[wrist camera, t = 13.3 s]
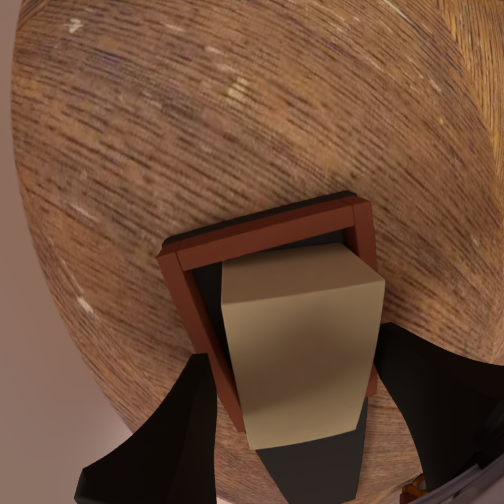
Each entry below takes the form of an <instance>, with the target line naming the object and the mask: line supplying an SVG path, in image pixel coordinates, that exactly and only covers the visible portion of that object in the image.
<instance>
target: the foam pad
mask: <svg viewBox="0 0 504 504" xmlns="http://www.w3.org/2000/svg"><path fill="white" fill-rule="evenodd" d="M384 291H385V279H384V278H382V277H381V276H380V275H379V274H378V273H377V272H375V271H374V270H373V269H372V268H371V267H370V266H368V265H367V264H366V263H365V262H364V261H362V260H361V259H360V258H359V257H358V256H356V255H355V254H354V253H353V252H352V251H350V250H349V249H348V248H347V247H345V246H344V245H343V244H342V243H340V242H338V243H330V244H322V245H313V246H305V247H297V248H288V249H280V250H272V251H263V252H255V253H250V254H247V255H243V256H239V257H235V258H232V259H228V260H224V261H223V269H222V293H221V308H222V314H223V320H224V325H225V331H226V336H227V342H228V347H229V352H230V357H231V363H232V368H233V373H234V378H235V383H236V387H237V392H238V397H239V402H240V406H241V411H242V416H243V420H244V425H245V429H246V434H247V438H248V442H249V447H250V449H251V450H255V449H264V448H272V447H278V446H285V445H291V444H296V443H302V442H307V441H312V440H316V439H321V438H325V437H329V436H333V435H337V434H341V433H345V432H348V431H352V430H355V429H356V426H357V423H358V419H359V416H360V413H361V409H362V405H363V402H364V398H365V394H366V390H367V386H368V382H369V378H370V373H371V369H372V364H373V359H374V354H375V349H376V344H377V339H378V333H379V327H380V320H381V314H382V307H383V299H384Z"/></svg>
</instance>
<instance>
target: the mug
mask: <svg viewBox="0 0 504 504" xmlns="http://www.w3.org/2000/svg"><path fill="white" fill-rule="evenodd" d="M426 494H428V493H427V490H426V483H425V479H424V474H422V475H421V476H419V477H418V478H417V479H416V480H415V481H414V482H413V483H412V484H408V485H405V486H404V487H403V488H402V494H400V504H408V503H410V502H412V501H414V500H416V499H418V498H420V497H422V496H424V495H426ZM452 498H453V497H451V498H449V499H448V500H446V501H444V502H443V503H441V504H446V503H448V502H449V501H451V500H452Z"/></svg>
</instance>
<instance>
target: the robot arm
mask: <svg viewBox="0 0 504 504" xmlns="http://www.w3.org/2000/svg"><path fill="white" fill-rule="evenodd" d="M373 363H374V365H375V368H376V370H377V372H378V374H379V377H380V379H381V381H382V382H383V384H384V386H385V387H386V389H387V390H388V392H389V394H390V395H391V397H392V399H393V400H394V402H395V404H396V405H397V407H398V408H399V410H400V412H401V413H402V415H403V417H404V419H405V421H406V423H407V426H408V428H409V430H410V433H411V435H412V438H413V441H414V443H415V446H416V449H417V452H418V455H419V459H420V462H421V466H422V469H423V474H424V479H425V483H426V490H427V493H428V494H426V495H424V496H422V497H420V498H418V499H416V500H414V501H412V502H410V503H408V504H441V503H443V502H444V501H446V500H448V499H449V498H451V497H453V498H452V500H451V501H449V502H448V503H446V504H504V366H501V365H494V364H488V363H484V362H480V361H476V360H472V359H469V358H466V357H463V356H460V355H457V354H455V353H452V352H450V351H447V350H445V349H443V348H441V347H439V346H436V345H434V344H432V343H430V342H428V341H426V340H425V339H423V338H421V337H419V336H417V335H415V334H413V333H411V332H410V331H408V330H406V329H404V328H402V327H400V326H398V325H396V324H394V323H392V322H389V323H385V324H381V325H380V327H379V333H378V339H377V344H376V349H375V354H374V359H373ZM216 420H217V388H216V384H215V380H214V376H213V372H212V369H211V365H210V361H209V357H208V353H198V354H192V355H191V356H190V358H189V360H188V362H187V364H186V366H185V367H184V369H183V371H182V373H181V374H180V376H179V378H178V379H177V381H176V382H175V384H174V386H173V387H172V389H171V390H170V392H169V393H168V395H167V396H166V397H165V399H164V400H163V401H162V403H161V404H160V406H159V407H158V408H157V409H156V411H155V412H154V413H153V414H152V415H151V416H150V418H149V419H148V420H147V421H146V422H145V423H144V424H143V425H142V426H141V427H140V428H139V429H138V430H137V431H136V432H135V433H134V434H133V435H132V436H131V437H130V438H128V439H127V440H126V441H125V442H124V443H122V444H121V445H120V446H118V447H117V448H116V449H115V450H113V451H112V452H110V453H109V454H107V455H106V456H104V457H103V458H101V459H100V460H98V461H96V462H94V463H93V464H91V465H89V466H87V467H85V468H83V470H82V472H81V475H80V478H79V481H78V485H77V488H76V492H75V496H74V499H75V501H76V502H77V504H217V500H216V488H215V474H214V446H215V433H216Z"/></svg>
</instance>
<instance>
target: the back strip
mask: <svg viewBox="0 0 504 504" xmlns="http://www.w3.org/2000/svg"><path fill="white" fill-rule="evenodd" d="M338 242H340V243H342V244H343V245H344V246H345V247H347V248H348V249H349V250H350V251H352V252H353V253H354V254H355V255H356V256H358V257H359V258H360V259H361V260H362V261H364V262H365V263H366V264H367V265H368V266H370V267H371V268H372V269H373V270H374V271H375V272H377V259H376V247H375V237H374V227H373V219H372V211H371V203H370V201H368V200H366V199H363V198H360V197H357V194H356V193H353V192H350V191H343V192H339V193H335V194H330V195H326V196H322V197H318V198H314V199H309V200H305V201H301V202H297V203H293V204H289V205H285V206H281V207H277V208H273V209H270V210H266V211H262V212H258V213H254V214H251V215H247V216H243V217H239V218H236V219H232V220H228V221H225V222H221V223H217V224H214V225H210V226H207V227H203V228H200V229H196V230H193V231H189V232H186V233H182V234H179V235H176V236H172V237H169V238H166V240H165V241H164V242H163V244H162V250H161V251H160V253H159V254H158V256H157V257H156V259H157V261H158V264H159V267H160V269H161V272H162V274H163V277H164V280H165V282H166V285H167V287H168V290H169V292H170V294H171V297H172V299H173V302H174V304H175V306H176V309H177V311H178V313H179V316H180V318H181V320H182V323H183V325H184V327H185V329H186V331H187V334H188V336H189V338H190V340H191V342H192V345H193V347H194V349H195V351H196V353H197V354H198V353H208V357H209V361H210V365H211V369H212V372H213V376H214V380H215V384H216V388H217V395H218V397H219V398H220V400H221V402H222V404H223V406H224V408H225V409H226V411H227V413H228V415H229V417H230V418H231V420H232V422H233V424H234V425H235V427H236V429H237V431H238V432H245V433H246V429H245V425H244V420H243V416H242V411H241V406H240V402H239V397H238V392H237V387H236V383H235V378H234V373H233V368H232V363H231V357H230V352H229V347H228V342H227V336H226V331H225V325H224V320H223V314H222V308H221V293H222V269H223V261H224V260H228V259H232V258H235V257H239V256H243V255H247V254H250V253H255V252H263V251H272V250H280V249H288V248H297V247H305V246H313V245H322V244H330V243H338ZM377 374H378V372H377V370H376V368H375V365H374V363H373V364H372V369H371V373H370V378H369V382H368V386H367V390H366V394H365V398H364V402H363V405H362V409H361V413H360V416H359V419H358V423H357V426H356V429H355V430H352V431H348V432H345V433H341V434H337V435H333V436H329V437H325V438H321V439H316V440H312V441H307V442H302V443H296V444H291V445H285V446H278V447H272V448H264V449H255V451H256V452H257V454H258V456H259V457H260V459H261V461H262V462H263V464H264V466H265V467H266V469H267V471H268V472H269V474H270V475H271V477H272V479H273V480H274V482H275V483H276V485H277V486H278V488H279V490H280V491H281V493H282V494H283V496H284V497H285V499H286V500H287V502H288V503H289V504H341V503H344V502H347V501H350V500H353V499H355V498H356V492H357V487H358V481H359V475H360V469H361V462H362V455H363V447H364V439H365V429H366V418H367V404H368V396H371V395H373V394H375V393H376V389H377ZM246 435H247V434H246Z"/></svg>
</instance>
